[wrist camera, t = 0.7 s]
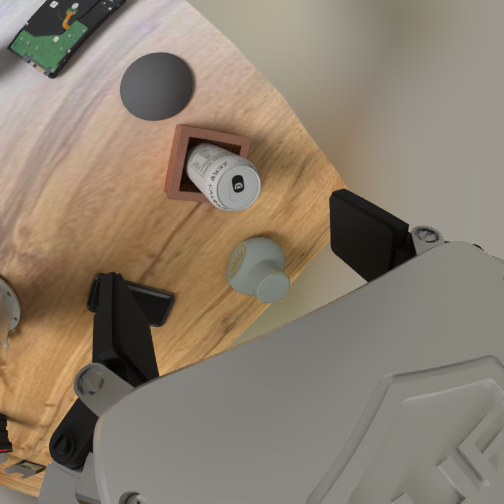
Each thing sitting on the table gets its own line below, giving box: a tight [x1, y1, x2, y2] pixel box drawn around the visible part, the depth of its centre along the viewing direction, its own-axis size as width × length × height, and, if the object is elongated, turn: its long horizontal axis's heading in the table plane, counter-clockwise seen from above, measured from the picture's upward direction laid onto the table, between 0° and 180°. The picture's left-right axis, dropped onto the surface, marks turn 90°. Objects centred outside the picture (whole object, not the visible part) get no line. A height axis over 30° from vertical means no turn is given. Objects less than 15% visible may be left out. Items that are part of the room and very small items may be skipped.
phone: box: [87, 273, 175, 327], centre depth 45 cm, size 8×1×15 cm
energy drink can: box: [183, 143, 261, 211], centre depth 34 cm, size 6×6×15 cm
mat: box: [120, 53, 192, 121], centre depth 31 cm, size 10×10×1 cm
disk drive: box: [7, 0, 126, 79], centre depth 20 cm, size 10×3×15 cm
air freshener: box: [226, 237, 290, 303], centre depth 48 cm, size 11×8×10 cm
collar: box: [164, 125, 252, 203], centre depth 38 cm, size 10×10×4 cm
